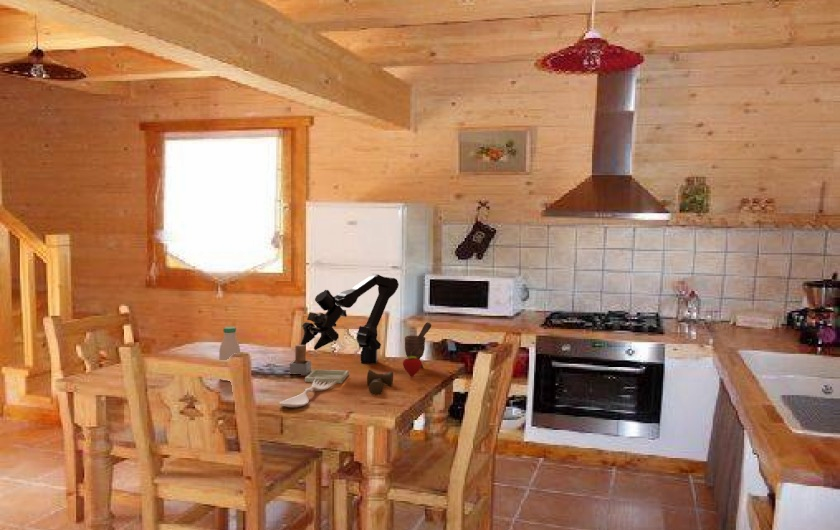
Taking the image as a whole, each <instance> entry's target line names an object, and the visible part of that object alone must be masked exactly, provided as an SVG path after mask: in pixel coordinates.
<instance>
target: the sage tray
mask: <svg viewBox="0 0 840 530" xmlns="http://www.w3.org/2000/svg"><path fill="white" fill-rule="evenodd" d="M349 372H350V370H340V369H339V370H338V369H337V370H336V369H312V370H311V372H310V373H309V374H308V375H305V377H304V383H313V381H314V380H315V379H316V382H317V381H318V380H319V382H318V384H319V383H320V382H321V381H322V383H321V384H323V383H324V382H326V384H327V383H328V382H330V383H331V382H332V381H333V382H334V381H336V384H340V385H341V384H343V383H344V382H345V380H346V378H348V376H349V375H350V373H349ZM316 382H315V383H316ZM330 383H329V384H330Z"/></svg>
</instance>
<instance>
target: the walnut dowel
mask: <svg viewBox="0 0 840 530" xmlns="http://www.w3.org/2000/svg"><path fill="white" fill-rule="evenodd" d="M306 345H307V344H306ZM306 345H301V344H297V345H295V347H294V348H295V350H294V351H295V356H294V357H295V359H294V360H295V363H298V364H305V363H306V360H307V359H306V358H307V357H306V356H307V355H306V354H307V352H306V350H307V349H306Z"/></svg>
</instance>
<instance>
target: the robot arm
mask: <svg viewBox="0 0 840 530" xmlns="http://www.w3.org/2000/svg"><path fill="white" fill-rule="evenodd" d="M375 286H378V287H377V292H378V295H377V298H376V299H375V302H374V305H373V308H372V309H371V312H370V314H369V316H368V319H367V320H366V321H367V322H366V323H365V325H360V326H359V328H358V331H357V332H356V342H357V343H358V346H359V348H361V351H360V364H371V363H375V364H377V363H378V361H379V359H378V350H380V349H381V345H382V344H381V343H380V341H379V340H378V339H377V338H378V327H379V324H380V322H381V319H382V316H383V314H384V311H385V310H386V307H387V304H388V302H389V300H390V299H391V297H392V296H393V295H395V293H396V292H397V290H398V288H399V281H398V279H397V278H395V277H388V276H383V275H380V274H376V273H371V274H369V276H368V277H366V278H365V279H363V280H362V281H360V282H359V283H357V284H356V285H355V286H353V287H352V288H350V289H346V290H342V291H341V292H339V293H337V294H336V295H335V296H334V295H332V293H331V292H330V290H329V289H325V290H323V291H322V292H319V294H317V295H316V296H315V298H314V301H315V302H316V304H317V305H318V306H319V307H320V308H321V309H322V310H323V311H324V312H325V311H326V312H325V313H322V312H319V313H315V312H309V314H308V315H307V318H306V320H307V321H306V322H304V323H303V324H302V330H303V332H304V333H303V337H302V340H301V343H300V345H307V344H308V343H310V342H311V341H312V340H313V339H315V338H316V336H317V335H318V334H320V337H319V338H318V340H317V342H316V343H315V345H314V346H313V349H314V350H315V351H317V350H318V349H320V348H322V347H324V346H326V345H328V344H331V343H334V342H337V341H338V339H339V333H338V332H337V331H336V329H334V328H335V327H337V324H336V323H337V322H338V320H339V319H340V318H341V317H345V318H346V317H347V316H348V315H347V310H346V309H343V308H347V309H350V308H351V307H353V306H354V304H356V303H357V301H358V299H359V297H361V296H362V295H364V294H365V293H366V292H367V291H369V290H370V289H372V288H374V287H375ZM309 321H310V322H309Z"/></svg>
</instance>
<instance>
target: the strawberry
mask: <svg viewBox="0 0 840 530" xmlns="http://www.w3.org/2000/svg"><path fill="white" fill-rule="evenodd" d="M411 353H412V352H411ZM421 365H423V362H422V360H421V359H420V360H419V359H417V357H416V356H411V357H410V356H408V357H406V358H405V359H404V360H403V361H402V366H403V369H404V370H405V372H406V373H407V374H408V376H410V377H411V378H413V377H415V375H416V374H417V373H418V372H419V371H420V370H421V369H420V368H421Z"/></svg>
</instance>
